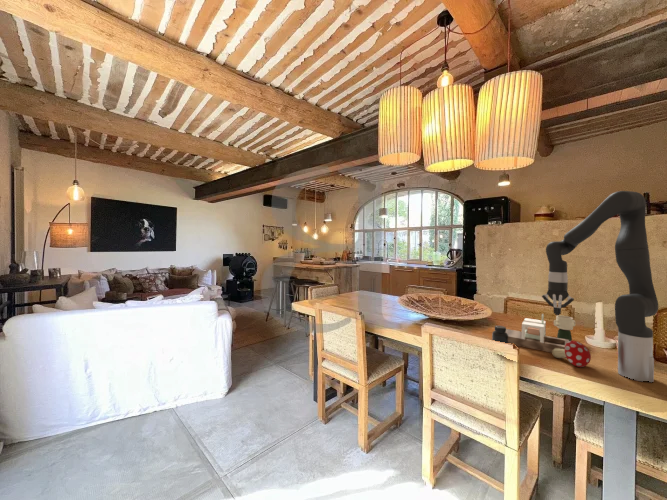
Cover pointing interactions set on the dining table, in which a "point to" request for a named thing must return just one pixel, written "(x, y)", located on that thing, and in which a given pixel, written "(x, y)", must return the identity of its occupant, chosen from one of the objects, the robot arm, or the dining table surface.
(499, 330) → the supplement bottle
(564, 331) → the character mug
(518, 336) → the track
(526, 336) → the sled
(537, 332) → the block
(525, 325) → the tunnel
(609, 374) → the dining table surface
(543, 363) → the dining table surface
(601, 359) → the dining table surface
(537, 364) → the dining table surface
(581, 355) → the decorative mushroom
